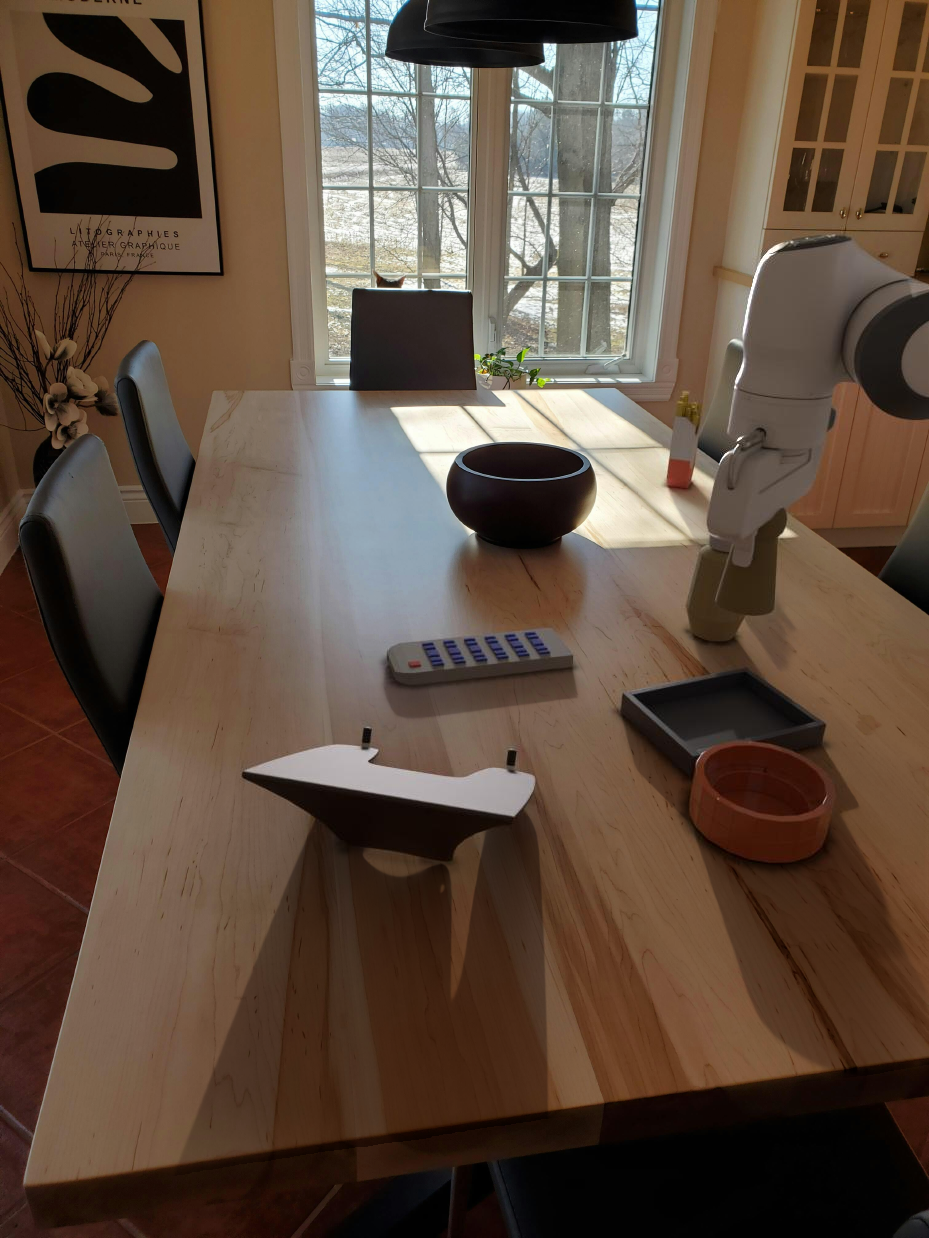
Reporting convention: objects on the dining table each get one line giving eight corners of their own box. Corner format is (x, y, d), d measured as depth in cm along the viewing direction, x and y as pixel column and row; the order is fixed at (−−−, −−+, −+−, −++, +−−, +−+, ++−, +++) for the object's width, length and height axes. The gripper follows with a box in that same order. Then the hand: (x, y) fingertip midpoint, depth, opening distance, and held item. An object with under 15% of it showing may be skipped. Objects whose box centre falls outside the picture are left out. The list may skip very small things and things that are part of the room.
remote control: (572, 668, 114) (574, 653, 113) (397, 687, 108) (397, 671, 107) (550, 640, 120) (551, 625, 119) (384, 656, 115) (384, 641, 114)
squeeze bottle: (727, 618, 127) (747, 497, 120) (752, 644, 120) (776, 517, 112) (673, 621, 126) (690, 499, 118) (696, 648, 119) (716, 519, 111)
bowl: (764, 771, 94) (773, 731, 92) (853, 845, 84) (865, 802, 82) (663, 797, 90) (669, 755, 88) (744, 879, 79) (754, 834, 77)
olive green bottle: (740, 619, 90) (759, 515, 85) (702, 596, 95) (718, 496, 90) (787, 610, 92) (808, 508, 87) (748, 587, 97) (765, 490, 92)
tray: (743, 685, 110) (746, 666, 109) (822, 743, 99) (826, 723, 98) (620, 711, 104) (622, 692, 103) (689, 777, 93) (693, 756, 92)
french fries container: (694, 478, 189) (707, 391, 181) (687, 492, 179) (700, 402, 172) (672, 475, 190) (684, 389, 182) (664, 489, 181) (676, 399, 173)
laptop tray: (537, 843, 92) (548, 753, 92) (504, 908, 69) (519, 790, 69) (325, 806, 96) (336, 721, 96) (229, 857, 74) (243, 746, 74)
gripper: (771, 448, 76) (744, 596, 82) (843, 408, 91) (816, 536, 97) (701, 435, 79) (680, 578, 85) (781, 398, 94) (759, 523, 100)
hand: (753, 555), depth 91 cm, fingers closed on olive green bottle, 4 cm apart
